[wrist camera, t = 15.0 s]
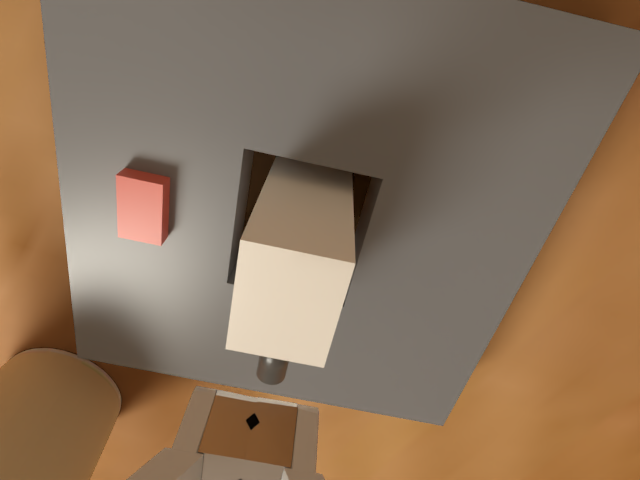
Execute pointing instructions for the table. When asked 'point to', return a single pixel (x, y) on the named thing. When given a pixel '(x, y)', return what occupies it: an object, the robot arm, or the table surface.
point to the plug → (293, 268)
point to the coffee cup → (54, 415)
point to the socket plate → (326, 150)
